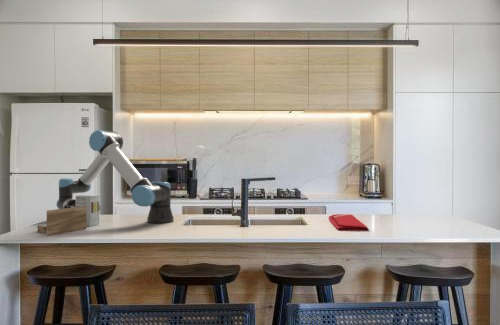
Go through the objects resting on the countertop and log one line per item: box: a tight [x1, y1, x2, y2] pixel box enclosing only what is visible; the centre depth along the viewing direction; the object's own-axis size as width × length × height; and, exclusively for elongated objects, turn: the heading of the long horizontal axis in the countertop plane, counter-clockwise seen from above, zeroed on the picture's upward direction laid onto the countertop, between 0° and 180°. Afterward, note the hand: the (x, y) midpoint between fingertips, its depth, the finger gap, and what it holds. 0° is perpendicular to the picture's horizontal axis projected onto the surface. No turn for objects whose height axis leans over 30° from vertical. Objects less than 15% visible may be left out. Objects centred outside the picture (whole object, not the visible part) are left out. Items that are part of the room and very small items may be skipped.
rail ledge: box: [37, 206, 87, 237], centre depth 217 cm, size 15×22×12 cm
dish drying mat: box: [328, 213, 369, 232], centre depth 237 cm, size 16×41×4 cm, turn 177°
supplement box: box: [75, 194, 100, 228], centre depth 235 cm, size 10×9×17 cm
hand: (88, 208), depth 234 cm, fingers open, 13 cm apart
